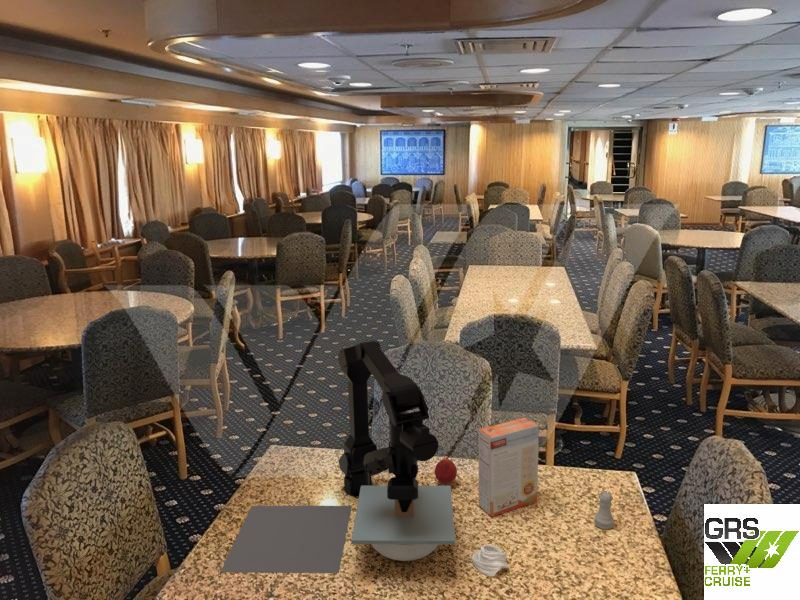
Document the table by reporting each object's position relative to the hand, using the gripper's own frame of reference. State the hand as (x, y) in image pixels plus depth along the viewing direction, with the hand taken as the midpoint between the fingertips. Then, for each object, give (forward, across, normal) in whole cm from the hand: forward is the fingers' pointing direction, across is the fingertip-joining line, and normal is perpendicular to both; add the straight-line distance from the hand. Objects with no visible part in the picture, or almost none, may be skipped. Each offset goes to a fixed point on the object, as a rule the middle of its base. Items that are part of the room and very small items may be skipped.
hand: (404, 506), depth 136 cm
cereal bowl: (+11, 0, 0) cm, 11 cm away
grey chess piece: (+11, -9, +46) cm, 48 cm away
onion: (+11, -27, +10) cm, 31 cm away
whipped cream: (+11, +6, +18) cm, 22 cm away
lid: (+2, 0, 0) cm, 2 cm away
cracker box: (+11, -18, +25) cm, 32 cm away
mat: (+10, -4, -26) cm, 28 cm away
